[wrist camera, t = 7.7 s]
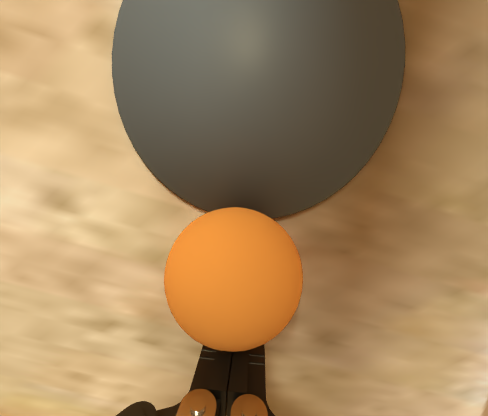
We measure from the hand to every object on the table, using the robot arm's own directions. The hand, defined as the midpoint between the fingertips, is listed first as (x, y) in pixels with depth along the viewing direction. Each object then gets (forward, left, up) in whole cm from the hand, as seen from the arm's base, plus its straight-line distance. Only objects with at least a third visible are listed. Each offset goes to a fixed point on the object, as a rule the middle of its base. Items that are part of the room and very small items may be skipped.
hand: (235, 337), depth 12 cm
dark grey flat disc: (-9, -9, -2) cm, 13 cm away
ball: (-3, -3, +1) cm, 4 cm away
